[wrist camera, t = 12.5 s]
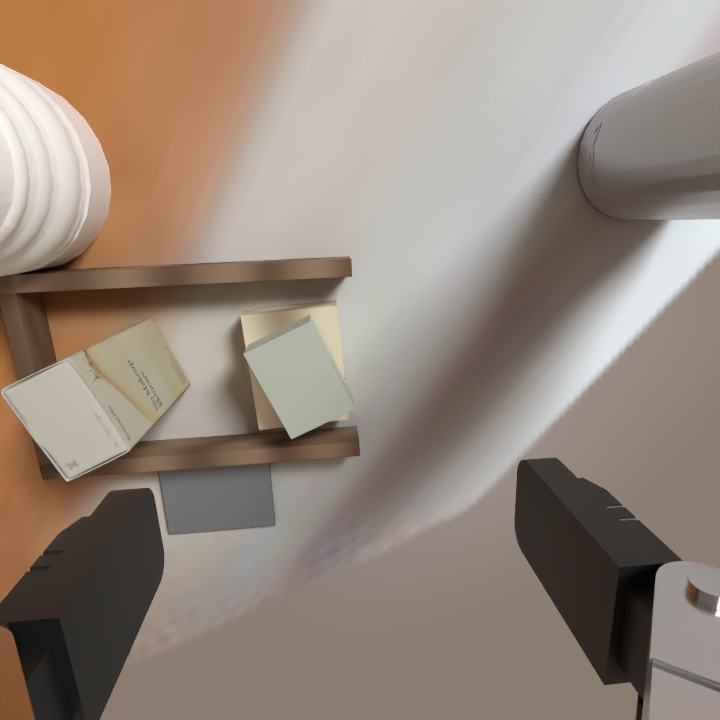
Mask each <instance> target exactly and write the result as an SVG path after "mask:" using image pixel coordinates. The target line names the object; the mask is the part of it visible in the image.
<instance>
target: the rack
mask: <svg viewBox="0 0 720 720" xmlns="http://www.w3.org/2000/svg"><path fill="white" fill-rule="evenodd" d="M333 277H352V267H351V259H350V258H349V257H329V258H307V259H285V260H264V261H242V262H221V263H199V264H177V265H156V266H134V267H112V268H91V269H69V270H48V271H32V272H26V273H20V274H12V275H5V276H1V277H0V308H1V312H2V316H3V320H4V324H5V328H6V332H7V336H8V340H9V344H10V348H11V352H12V356H13V360H14V364H15V368H16V373H17V377H18V381H19V380H21V379H23V378H25V377H27V376H29V375H31V374H33V373H35V372H38V371H40V370H42V369H44V368H46V367H48V366H50V365H52V364H54V363H56V362H57V361H56V356H55V352H54V347H53V343H52V338H51V334H50V329H49V325H48V320H47V315H46V311H45V306H44V302H43V297H42V293H41V292H48V291H68V290H89V289H109V288H130V287H150V286H170V285H191V284H211V283H231V282H252V281H272V280H293V279H313V278H333ZM32 438H33V437H32ZM33 442H34V446H35V450H36V454H37V458H38V462H39V466H40V470H41V474H42V478H43V479H55V478H63V476H62V475H61V474H60V472H59V471H58V470H57V469H56V467H55V466H54V465H53V463H52V462H51V461H50V459H49V458H48V457H47V455H46V454H45V453H44V451H43V450H42V449H41V447H40V446H39V445H38V444H37V443H36V441H35V440H34V439H33ZM351 456H360V448H359V438H358V433H357V427H342V428H327V429H313V430H310V431H308V432H306V433H304V434H302V435H299V436H297V437H295V438H293V439H291V438H290V436H289V434H288V432H287V431H284V432H270V433H256V434H242V435H227V436H213V437H199V438H185V439H170V440H156V441H142V442H138V443H137V444H136V445H135V446H134V447H133V448H132V449H131V450H130V451H129V452H127V453H126V454H124V455H122V456H120V457H118V458H116V459H114V460H112V461H110V462H109V463H106V464H104V465H102V466H100V467H98V468H96V469H94V470H92V471H90V472H88V473H85V474H83V475H81V476H79V477H82V476H95V475H109V474H122V473H136V472H149V471H163V470H176V469H189V468H203V467H216V466H230V465H243V464H257V463H270V462H284V461H297V460H311V459H324V458H338V457H351Z"/></svg>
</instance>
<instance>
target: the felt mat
mask: <svg viewBox="0 0 720 720" xmlns="http://www.w3.org/2000/svg"><path fill="white" fill-rule="evenodd" d="M159 477H160V483H161V489H162V495H163V500H164V506H165V512H166V518H167V524H168V529H169V534H179V533H191V532H203V531H215V530H227V529H239V528H251V527H263V526H275V514H274V504H273V494H272V484H271V474H270V464H269V463H257V464H243V465H230V466H216V467H203V468H189V469H176V470H163V471H159Z"/></svg>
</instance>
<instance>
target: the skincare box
mask: <svg viewBox="0 0 720 720" xmlns="http://www.w3.org/2000/svg"><path fill="white" fill-rule="evenodd" d="M189 386H190V382H189V381H188V379H187V377H186V376H185V374H184V372H183V370H182V369H181V367H180V365H179V363H178V362H177V360H176V358H175V357H174V355H173V353H172V352H171V350H170V348H169V347H168V345H167V343H166V342H165V340H164V338H163V337H162V335H161V334H160V332H159V330H158V329H157V327H156V325H155V324H154V322H153V321H152V319H151V318H148V319H146V320H144V321H142V322H139V323H137V324H135V325H133V326H131V327H129V328H127V329H125V330H123V331H120V332H118V333H116V334H114V335H112V336H110V337H108V338H106V339H104V340H102V341H100V342H98V343H96V344H94V345H92V346H89V347H87V348H85V349H83V350H81V351H79V352H77V353H75V354H73V355H71V356H69V357H67V358H65V359H63V360H61V361H59V362H56V363H54V364H52V365H50V366H48V367H46V368H44V369H42V370H40V371H38V372H35V373H33V374H31V375H29V376H27V377H25V378H23V379H21V380H19V381H17V382H15V383H13V384H11V385H9V386H7V387H5V388H3V389H2V391H1V394H2V396H3V397H4V398H5V400H6V401H7V402H8V404H9V405H10V407H11V408H12V409H13V411H14V412H15V413H16V415H17V416H18V418H19V419H20V420H21V422H22V423H23V424H24V426H25V427H26V429H27V430H28V432H29V433H30V435H31V436H32V437H33V439H34V440H35V441H36V443H37V444H38V445H39V446H40V447H41V449H42V450H43V451H44V453H45V454H46V455H47V457H48V458H49V459H50V461H51V462H52V463H53V465H54V466H55V467H56V469H57V470H58V471H59V472H60V474H61V475H62V476H63V478H64V479H65V481H67V482H68V481H70V480H72V479H74V478H77V477H79V476H81V475H83V474H85V473H88V472H90V471H92V470H94V469H96V468H98V467H100V466H102V465H104V464H106V463H109V462H110V461H112V460H114V459H116V458H118V457H120V456H122V455H124V454H126V453H127V452H129V451H130V450H131V449H132V448H133V447H134V446H135V445H136V444H137V443H138V442H139V440H140V439H141V438H142V437H143V436H144V435H145V434H146V433H147V432H148V431H149V430H150V429H151V427H152V426H153V425H154V424H155V423H156V422H157V421H158V420H159V419H160V418H161V417H162V415H163V414H164V413H165V412H166V411H167V410H168V409H169V408H170V407H171V405H172V404H173V403H174V402H175V401H176V400H177V399H178V398H179V397H180V396H181V394H182V393H183V392H184V391H185V390H186V389H187V388H188V387H189Z"/></svg>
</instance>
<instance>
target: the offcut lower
mask: <svg viewBox="0 0 720 720" xmlns="http://www.w3.org/2000/svg"><path fill="white" fill-rule="evenodd" d="M310 314H311V316H312V318H313V320H314V322H315V324H316V326H317V328H318V330H319V331H320V333H321V335H322V337H323V339H324V341H325V343H326V345H327V347H328V349H329V351H330V353H331V355H332V357H333V359H334V361H335V363H336V365H337V367H338V369H339V371H340V373H341V375H342V377H343V379H344V380H345V376H344V366H343V357H342V347H341V338H340V329H339V319H338V310H337V303H336V300H334V301H324V302H314V303H305V304H295V305H286V306H276V307H266V308H257V309H247V310H245V311H244V312H243V313H242V314H241V316H240V317H241V323H242V329H243V335H244V341H245V347H246V349H247V347H248V345H249V344H250V343H252V342H254V341H256V340H258V339H260V338H263V337H265V336H267V335H269V334H271V333H273V332H275V331H277V330H279V329H281V328H283V327H285V326H287V325H289V324H291V323H293V322H296V321H298V320H300V319H302V318H304V317H306V316H308V315H310ZM248 366H249V372H250V378H251V384H252V390H253V396H254V402H255V409H256V415H257V421H258V427H259V430H265V429H274V428H282V427H284V425H283V424H282V422H281V420H280V418H279V416H278V415H277V413H276V411H275V409H274V408H273V406H272V404H271V402H270V401H269V399H268V397H267V395H266V394H265V392H264V390H263V388H262V387H261V385H260V383H259V381H258V379H257V378H256V376H255V374H254V372H253V371H252V369H251V367H250V365H249V364H248ZM341 420H349V414H348V413H346V414H344V415H342V416H340V417H337V418H335V419H333V420H331V421H329V422H333V421H341Z"/></svg>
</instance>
